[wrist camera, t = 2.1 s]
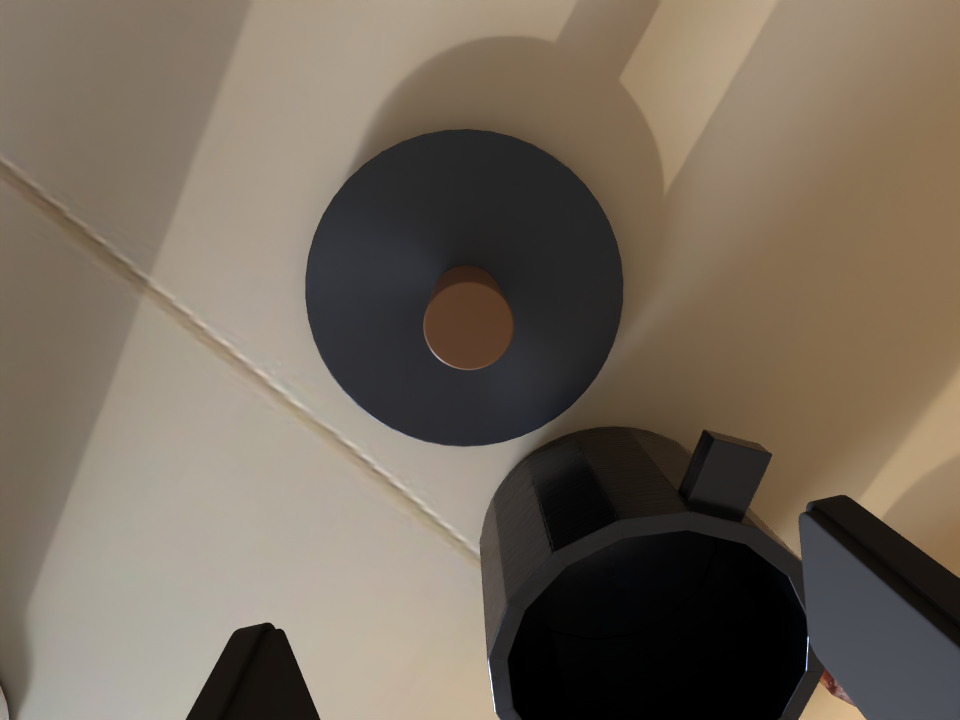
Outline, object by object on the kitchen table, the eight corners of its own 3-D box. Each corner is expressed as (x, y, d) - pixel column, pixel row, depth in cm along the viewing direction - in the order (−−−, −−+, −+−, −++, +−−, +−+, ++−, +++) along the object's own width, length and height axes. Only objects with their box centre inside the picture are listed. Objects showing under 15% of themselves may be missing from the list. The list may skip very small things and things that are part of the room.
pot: (440, 653, 31) (434, 810, 23) (539, 348, 27) (575, 408, 18) (656, 697, 33) (723, 859, 24) (785, 415, 28) (920, 498, 20)
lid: (285, 397, 27) (224, 461, 20) (349, 89, 23) (302, 36, 16) (561, 466, 28) (595, 547, 21) (660, 187, 25) (738, 177, 18)
